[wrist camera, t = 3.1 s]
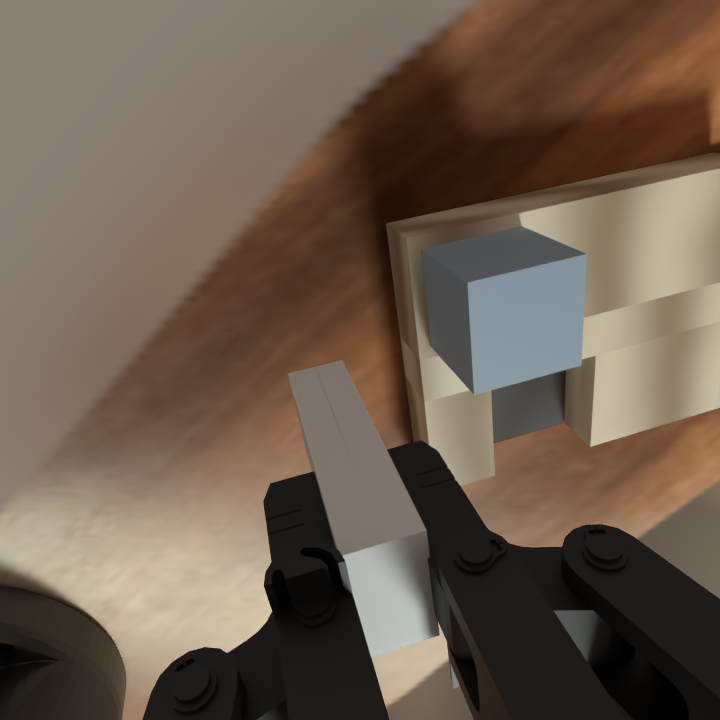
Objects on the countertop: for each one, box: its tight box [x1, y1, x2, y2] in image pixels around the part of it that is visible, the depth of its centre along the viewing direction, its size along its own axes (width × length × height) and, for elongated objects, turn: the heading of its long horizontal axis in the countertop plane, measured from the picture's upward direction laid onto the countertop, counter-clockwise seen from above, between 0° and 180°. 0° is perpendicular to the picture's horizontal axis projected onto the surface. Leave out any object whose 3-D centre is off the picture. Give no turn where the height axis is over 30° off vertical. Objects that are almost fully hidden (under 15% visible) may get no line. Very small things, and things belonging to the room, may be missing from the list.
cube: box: [421, 226, 587, 395], centre depth 20 cm, size 4×4×4 cm
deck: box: [386, 151, 720, 486], centre depth 24 cm, size 23×12×5 cm, turn 98°
